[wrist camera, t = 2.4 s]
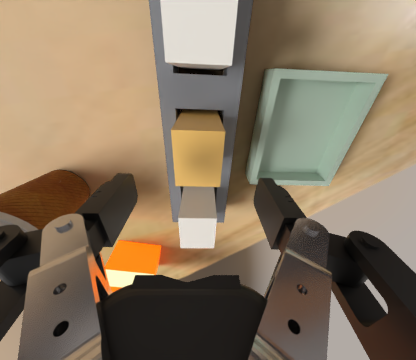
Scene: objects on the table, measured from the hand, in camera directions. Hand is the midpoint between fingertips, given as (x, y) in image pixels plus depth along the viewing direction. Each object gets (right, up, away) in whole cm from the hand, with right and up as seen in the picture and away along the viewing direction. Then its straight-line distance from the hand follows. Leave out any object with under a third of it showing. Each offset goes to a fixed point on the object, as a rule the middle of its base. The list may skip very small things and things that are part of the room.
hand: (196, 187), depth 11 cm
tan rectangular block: (0, +7, +11) cm, 13 cm away
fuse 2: (-1, 0, +16) cm, 16 cm away
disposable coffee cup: (-22, -1, +16) cm, 27 cm away
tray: (+13, +7, +12) cm, 19 cm away
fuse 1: (0, +15, +6) cm, 16 cm away
